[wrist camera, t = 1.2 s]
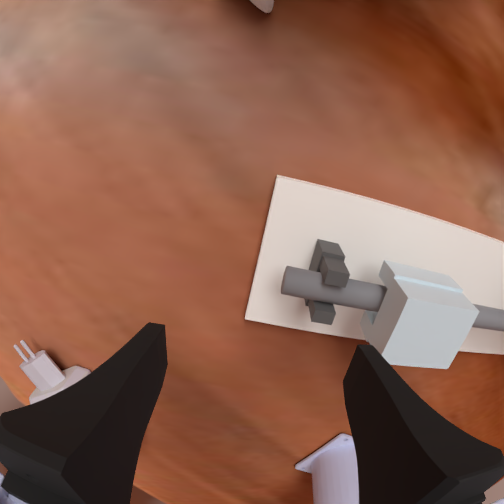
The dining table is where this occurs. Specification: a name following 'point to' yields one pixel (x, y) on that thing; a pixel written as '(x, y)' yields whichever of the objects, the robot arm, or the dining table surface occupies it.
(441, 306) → the light grey sliding block
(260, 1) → the spoon rest
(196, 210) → the dining table surface
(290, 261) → the white slide rail base
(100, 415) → the robot arm
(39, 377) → the charger
